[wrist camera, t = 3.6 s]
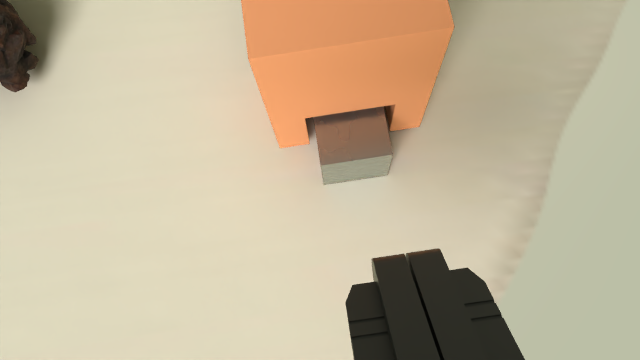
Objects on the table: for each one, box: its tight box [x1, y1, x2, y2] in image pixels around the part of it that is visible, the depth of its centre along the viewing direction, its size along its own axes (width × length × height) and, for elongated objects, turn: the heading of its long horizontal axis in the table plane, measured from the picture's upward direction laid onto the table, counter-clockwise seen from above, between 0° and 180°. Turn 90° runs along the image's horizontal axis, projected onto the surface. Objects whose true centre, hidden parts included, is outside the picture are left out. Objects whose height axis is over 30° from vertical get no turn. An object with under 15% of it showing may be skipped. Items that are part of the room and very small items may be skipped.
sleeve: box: [241, 0, 454, 148], centre depth 22 cm, size 4×7×9 cm, turn 99°
